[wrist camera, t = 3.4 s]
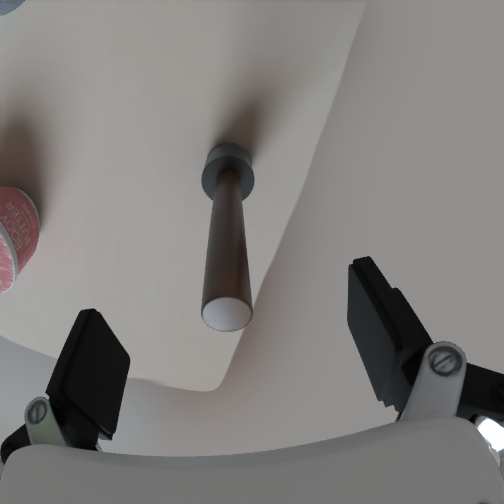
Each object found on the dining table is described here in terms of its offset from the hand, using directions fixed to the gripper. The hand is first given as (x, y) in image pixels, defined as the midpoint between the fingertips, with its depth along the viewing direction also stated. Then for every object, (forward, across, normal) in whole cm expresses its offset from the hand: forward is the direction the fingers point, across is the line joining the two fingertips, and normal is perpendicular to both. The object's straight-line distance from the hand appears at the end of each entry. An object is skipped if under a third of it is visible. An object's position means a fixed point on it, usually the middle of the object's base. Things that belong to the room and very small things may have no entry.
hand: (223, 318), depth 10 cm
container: (+19, +26, -2) cm, 32 cm away
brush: (+19, 0, 0) cm, 19 cm away
